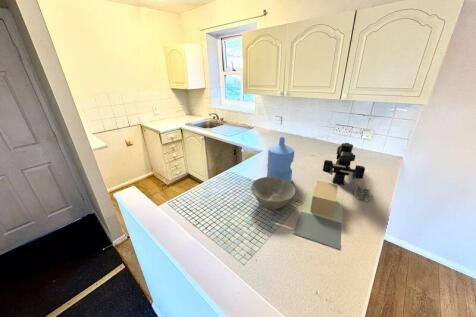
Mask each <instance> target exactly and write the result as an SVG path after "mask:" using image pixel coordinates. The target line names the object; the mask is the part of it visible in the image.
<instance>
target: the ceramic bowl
mask: <svg viewBox="0 0 476 317" xmlns="http://www.w3.org/2000/svg"><path fill="white" fill-rule="evenodd" d="M250 190H251V193H252V195H254V197H255V199H256V200H257V202H258V204H259V206H260V205H261V206H262V207H263V208H265V209H268V210H278V209H280V208H282V207H284V206H286V205H287V204H288V203H289V202H290V201H291V200H292V198H294V196H295V194H296V187H295V186H294V184H293V183H291V182H289V181H287V180H285V179H282V178H277V177H267V176H265V177H260V178H257V179H255V180H253V182H252V183H251V185H250Z"/></svg>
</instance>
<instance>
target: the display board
mask: <svg viewBox="0 0 476 317" xmlns="http://www.w3.org/2000/svg"><path fill="white" fill-rule="evenodd" d="M313 193H314V191H309V190H307V193H306V196H305V199H304V202H303V205H302V207H301V210H300V212H299V216H298V219H297V222H296V225H295V228H294V230H293V233H292V234H293V235H296V236H298V237H302V238H305V239H307V240H309V241H313V242H316V243H319V244H322V245H325V246H328V247H331V248H334V249H337V250H338V251H339V250H341V248H342V247H341V246H342V245H341V243H342V227H343V226H342V225H343V206H344V199H343V198H339V197H336V204H335V208H334V213H333V217H329V216H325V215H322V214H318V213H315V212H311V211H310V209H311V203H312V197H313Z"/></svg>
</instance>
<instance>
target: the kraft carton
mask: <svg viewBox="0 0 476 317" xmlns="http://www.w3.org/2000/svg"><path fill="white" fill-rule="evenodd" d="M338 185H339V184H337V183H330V182H326V181H320V180H317V181H316V183H315V187H314V191H313V192H314V193H313V197H312V203H311V209H310V211H311V212H315V213H318V214H322V215H325V216H329V217H333V213H334V208H335V204H336V198H338V197H337V196H338Z"/></svg>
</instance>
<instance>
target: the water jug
mask: <svg viewBox="0 0 476 317" xmlns="http://www.w3.org/2000/svg"><path fill="white" fill-rule="evenodd" d="M285 140H286V137H283V136H281V137H279V142H278V143H277V144H275V145H271V146H269V148H268V149H267V164H266V166H267V169H266V170H267V171H266V177H277V178H282V179H285V180H287V181H289V182H290V183H291V182H292V180H293V169H292V167H291V166H292V164H293V162H294V160H295V159H294V158H295V149H294V148H293V147H291V146H290V145H287V144H285V142H286V141H285Z"/></svg>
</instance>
